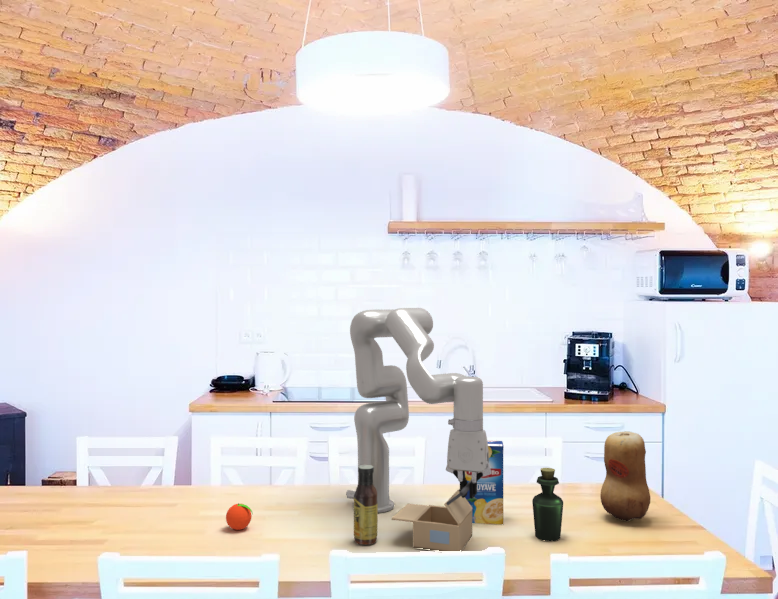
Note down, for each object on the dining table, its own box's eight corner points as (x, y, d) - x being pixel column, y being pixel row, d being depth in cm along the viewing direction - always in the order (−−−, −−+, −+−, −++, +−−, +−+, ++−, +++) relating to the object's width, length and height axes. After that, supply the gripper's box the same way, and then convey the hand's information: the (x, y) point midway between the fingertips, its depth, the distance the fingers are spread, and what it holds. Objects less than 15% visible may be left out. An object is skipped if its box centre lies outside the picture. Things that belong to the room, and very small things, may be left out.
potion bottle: (529, 531, 183) (529, 465, 183) (559, 532, 183) (559, 465, 183) (535, 542, 175) (535, 473, 175) (566, 543, 174) (566, 473, 174)
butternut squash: (591, 520, 192) (591, 432, 192) (612, 509, 202) (612, 426, 202) (639, 531, 183) (639, 439, 183) (658, 519, 193) (658, 432, 193)
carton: (390, 545, 173) (390, 518, 173) (408, 528, 186) (408, 502, 186) (458, 554, 167) (458, 526, 166) (472, 536, 180) (472, 509, 180)
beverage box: (503, 524, 189) (503, 446, 189) (464, 523, 190) (464, 445, 190) (502, 516, 196) (502, 441, 196) (464, 515, 197) (464, 440, 197)
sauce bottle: (353, 538, 178) (353, 463, 178) (376, 537, 179) (376, 462, 179) (354, 547, 172) (353, 469, 172) (378, 546, 172) (378, 468, 172)
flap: (443, 503, 169) (462, 489, 167) (456, 489, 181) (474, 476, 179) (458, 524, 167) (478, 511, 165) (470, 509, 179) (489, 496, 178)
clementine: (259, 527, 187) (259, 501, 187) (246, 535, 181) (246, 508, 181) (234, 523, 190) (234, 498, 190) (220, 532, 183) (220, 505, 183)
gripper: (434, 425, 172) (434, 497, 172) (495, 429, 167) (495, 504, 167) (443, 420, 179) (443, 489, 179) (501, 424, 174) (501, 496, 174)
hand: (468, 496), depth 173 cm, fingers closed
